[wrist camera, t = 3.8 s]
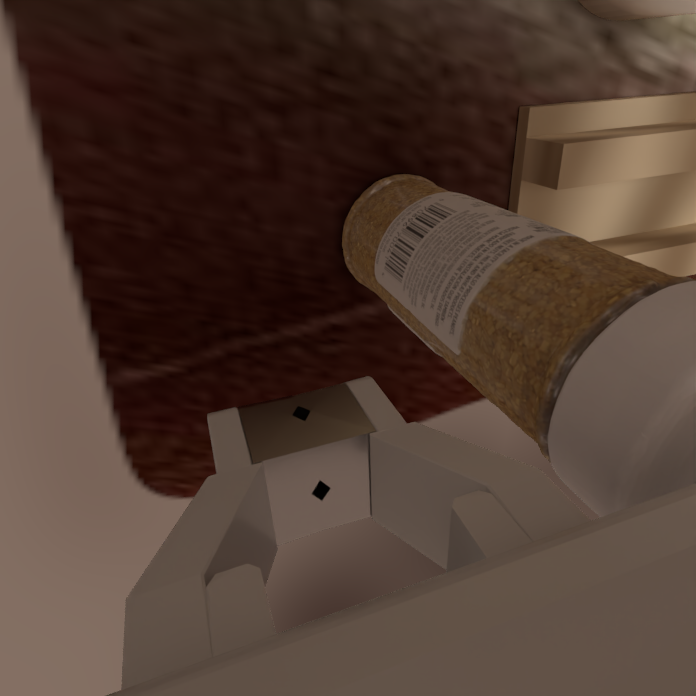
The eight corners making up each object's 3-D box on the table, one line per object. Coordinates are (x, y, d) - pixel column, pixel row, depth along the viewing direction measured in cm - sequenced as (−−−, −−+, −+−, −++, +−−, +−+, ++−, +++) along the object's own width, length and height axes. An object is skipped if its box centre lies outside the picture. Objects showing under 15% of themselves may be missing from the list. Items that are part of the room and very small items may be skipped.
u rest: (497, 305, 22) (558, 345, 19) (519, 106, 18) (601, 113, 15) (730, 257, 26) (814, 284, 23) (790, 83, 22) (902, 85, 19)
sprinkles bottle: (376, 311, 20) (655, 598, 9) (314, 222, 18) (596, 471, 7) (466, 241, 20) (858, 446, 9) (416, 142, 18) (877, 257, 6)
